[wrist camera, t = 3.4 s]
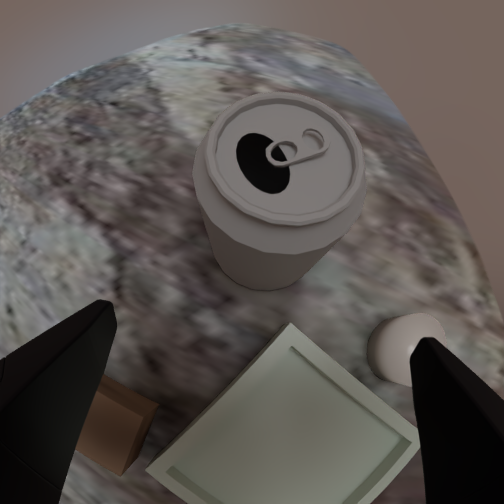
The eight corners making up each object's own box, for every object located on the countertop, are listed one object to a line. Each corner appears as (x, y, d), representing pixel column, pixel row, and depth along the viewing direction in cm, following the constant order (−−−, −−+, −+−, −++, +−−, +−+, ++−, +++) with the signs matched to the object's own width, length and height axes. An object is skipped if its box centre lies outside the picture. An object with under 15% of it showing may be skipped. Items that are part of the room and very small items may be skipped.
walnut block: (138, 456, 18) (120, 476, 14) (82, 424, 18) (57, 436, 14) (159, 403, 19) (143, 417, 15) (100, 371, 19) (75, 376, 16)
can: (197, 215, 23) (164, 106, 11) (288, 181, 24) (322, 66, 12) (235, 309, 21) (232, 276, 9) (331, 268, 22) (415, 199, 11)
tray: (292, 546, 16) (297, 562, 13) (153, 457, 18) (144, 470, 15) (411, 429, 19) (427, 437, 16) (284, 324, 21) (290, 322, 18)
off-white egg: (396, 393, 20) (420, 400, 16) (353, 356, 20) (373, 359, 17) (431, 342, 21) (456, 340, 17) (391, 304, 22) (415, 297, 18)
